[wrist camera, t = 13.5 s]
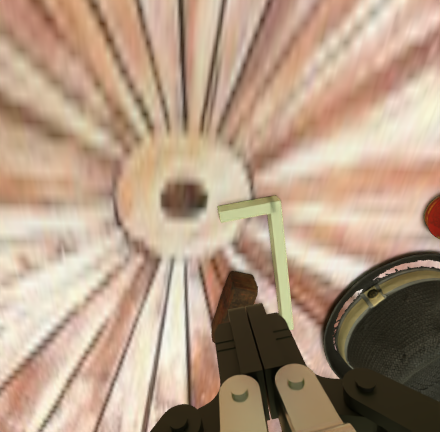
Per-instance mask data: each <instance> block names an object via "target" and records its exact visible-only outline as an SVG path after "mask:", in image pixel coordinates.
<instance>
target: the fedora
mask: <svg viewBox="0 0 440 432" xmlns="http://www.w3.org/2000/svg"><path fill="white" fill-rule="evenodd" d="M418 260H423V261H424V260H433V261H439V262H440V254H417V255H412V256H408V257H404V258H401V259H398V260H395V261H393V262H390V263H388V264H386V265H384V266H381V267H379V268H377V269H375V270H373V271H372V272H370V273H368V274H367V275H365V276H364V277H363V278H361V279H360V280H359V281H357V282H356V283H355V284H354V285H353V286H352V287H351V288H350V289H349V290H348V291H347V292H346V293H345V294H344V296H343V297H342V298H341V299H340V301H339V302H338V303H337V305H336V306H335V308H334V310H333V312H332V313H331V315H330V317H329V320H328V322H327V326H326V328H325V333H324V350H325V355H326V358H327V360H328V363H329V365H330V367H331V369H332V370H333V372H334V373H335V374H336V375H337V376H338V377H339V378H340V379H343V377H344V375H345V374H346V373H347V372H348V371H350V370H352V369H355V368H366V369H370V370H373V371H375V372H377V373H380V374H382V375H384V376H386V377H388V378H390V379H392V380H394V381H396V382H399V383H401V384H403V385H405V386H407V387H409V388H411V389H413V390H415V391H418V392H420V393H422V394H424V395H426V396H428V397H430V398H432V399H434V400H437V401H439V402H440V269H439V268H434V267H431V268H429V267H423V266H421V267H419V268H418V267H417V268H416V267H415V268H409V267H408V269H405V270H400V271H398V270H397V269H395V270H396V272H395V273H391V274H386V275H388V276H385V277H383V278H376V277H379V275H380V274H382V273H384V272H386V270H388V269H389V270H390V269H391V268H394V267H395V266H398V265H400V264H404V263H410V262H417V261H418ZM397 271H398V272H397ZM375 278H376V279H375ZM373 279H375V280H374V281H373ZM361 289H363V290H362V292H361V293H360V295H359V293H358V295H359V296H357V298H356V299H354V300H353V301H354V302H352V303H351V304H350V305H349V307H348V309H346V310H345V313H344V314H343V315H342V317H341V319H340V320H338V321H339V323H338V326H337V327H336V328H335V327H334V324H335V323H337V322H338V321H337V322H336V319H337V317H338V315H339V314H338V313H339V312H340V310H341V308H342V307H343V305H344V304H345V302H346V301H347V300H348V299H349V298H350V297H352V296H353V294H354V293H355V292H356V291H358V290H361ZM335 329H337V330H336V331H335ZM334 331H335V332H336V333H335V332H334ZM334 333H335V335H334ZM332 335H334V336H332ZM334 337H335V339H333V338H334ZM333 340H335V343H334V342H333ZM333 343H334V344H333ZM335 344H336V345H335ZM334 345H335V346H336V349H337V350H335V346H334Z"/></svg>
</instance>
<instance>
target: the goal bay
mask: <svg viewBox="0 0 440 432" xmlns="http://www.w3.org/2000/svg"><path fill="white" fill-rule="evenodd" d="M217 207H218V213H219V218H220V221H221V223H223V222H228V221H233V220H239V219H244V218H249V217H255V216H260V215H265V214H267V216H268V225H269V233H270V242H271V250H272V259H273V267H274V276H275V284H276V293H277V301H278V310H279V313H278V314H279V315H280V316H282V317H283V318H284V319H285V320H286V323H287V325H288V327H289V330H293V329H294V327H293V317H292V307H291V297H290V287H289V277H288V267H287V257H286V247H285V237H284V227H283V218H282V208H281V200H280V199H279V198H278V197H277V196H270V197H265V198H259V199H254V200H249V201H243V202H238V203H233V204H227V205H222V206H217Z"/></svg>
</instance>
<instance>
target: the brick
mask: <svg viewBox="0 0 440 432" xmlns="http://www.w3.org/2000/svg"><path fill="white" fill-rule="evenodd" d="M257 293H258V286H257V284H256V282H255V279H254V277H253V275H249V274H245V273H239V272H234V271H232V272H231V273H230V274H229V276H228V279H227V282H226V285H225V287H224V289H223V292H222V295H221V298H220V301H219V304H218V307H217V311H216V313H215V317H214V320H213V323H212V341H213V342H214V343H215V337H214V333H215V330H216V328H217V325H218V324H223V323H228V322H230V320H229V314H228V310H230V309H235V308H240V307H244V308H245V306H249V305H254V303H255V299H256V297H257ZM245 311H246V309H245Z"/></svg>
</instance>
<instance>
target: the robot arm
mask: <svg viewBox="0 0 440 432" xmlns="http://www.w3.org/2000/svg"><path fill="white" fill-rule="evenodd" d="M245 309H246V311H245ZM228 314H229V320H230V322H228V323H223V324H218V325H217V328H216V330H215V333H214V337H215V344H216V351H217V359H218V367H219V374H220V383H221V385H220V390H219V392H218V394H217V395H216V397H215V398H214V399H213V400H212V401H211V402H210V403H208V404H206V405H205V406H203V407H201V408H199V409H196V408H195V407H193V406H191V405H187V404H182V405H177V406H174V407H172V408H171V409H169V410H168V411H167V412H165V414H164V415H163V416H162V417H161V418H160V420H159V421H158V422H157V424H156V425H155V426H154V427H153V429H152V430H151V431H150V432H268V425H267V420H270V416H269V411H270V414H271V418H272V419H276V418H279V422H280V425H281V429H282V432H440V402H439V401H437V400H434V399H432V398H430V397H428V396H426V395H424V394H422V393H420V392H418V391H415V390H413V389H411V388H409V387H407V386H405V385H403V384H401V383H399V382H396V381H394V380H392V379H390V378H388V377H386V376H384V375H382V374H380V373H377V372H375V371H373V370H370V369H366V368H355V369H352V370H350V371H348V372H347V373H346V374H345V375H344V377H343V379H331V378H325V377H321V376H318V375H316V374H315V373H314V372H313V371H312V370H311V369H309V368H308V367H307V366H306V364H305V362H304V360H303V358H302V356H301V353H300V351H299V349H298V347H297V345H296V342H295V340H294V338H293V336H292V334H291V331H290V330H289V327H288V325H287V323H286V320H285V319H284V318H283V317H282V316H280V315H279V314H278V313H272V314H267V315H266V312H265V309H264V307H263V304H262V303H259V304H254V305H249V306H245V308H244V307H240V308H235V309H230V310H228ZM268 407H269V409H268Z"/></svg>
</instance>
